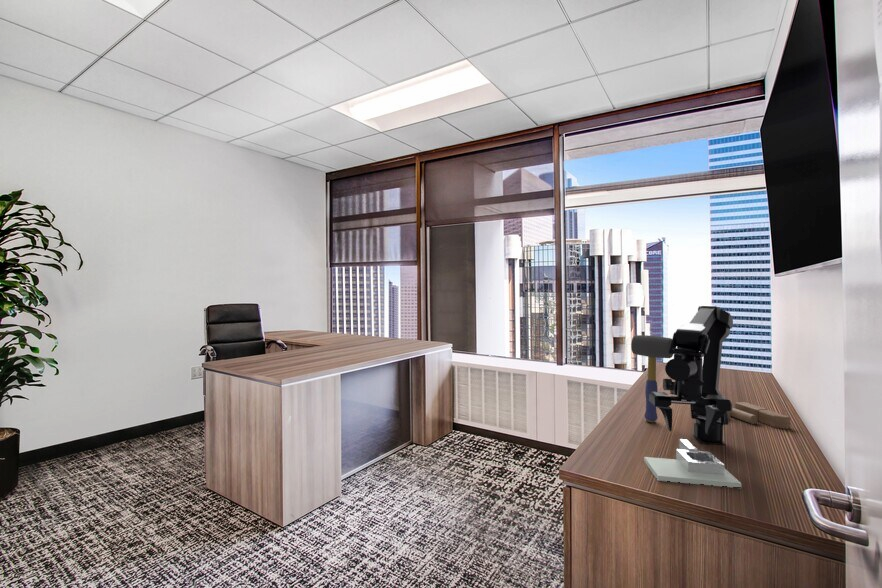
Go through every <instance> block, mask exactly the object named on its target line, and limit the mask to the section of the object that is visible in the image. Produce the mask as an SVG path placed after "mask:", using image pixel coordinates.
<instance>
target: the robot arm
mask: <svg viewBox="0 0 882 588" xmlns="http://www.w3.org/2000/svg"><path fill="white" fill-rule="evenodd" d="M733 320H734V319H733V316H732V315H731V313H730V312H727V311H725V310H723V309H722V308H720V306H717V305H710V304H707V305H705V304H703V305H699V306H698V308H697V312H696V314H695V315H694V316H693V317H692V318H691V320H690V321H689V322H688V324H685V325H684V324H683V325H681V326H679V327H678V328H677V329H676V330H675V331H674V332H673V335H672V338H671V339H672V342H671V346H670V349H669V354H673V358H672V359H671V358H670V359H669V360H668V361H667V362H666V364H665V366H664V371H665V374H666V375H667V376H668V378H663V379H662V389H663V391H658V392H651V393H650V394H649V401H650V402H651V403H652V404H653V405H654V406H656V408H658V409H659V410H660V411H661V412H662V415H663V418H664V420H665V424H666V427H667V430H668V431H669V432H672V430H673V408H672V407H671V405H672V404H680V405H690V416H691V419H692V420H695V422H694V423H693V435H692V437H694V438H695V439H696V440H698V441H699V442H700V443H701V444H711V445H726V442H725V441H724V440H723V438H724V437H723V436H724V431H723V430H724V426H726V425H729V422H730V421H729V420H730V419H729V418H728V413H727V411H732V408H733V403H732V401H731V400H730V399H729V398H727V397H725V396H724V395H722V394H721V391H720V390H719V387H720V386H719V385H720V373H721V364H722V363H721V361H722V353H723V351H722V350H723V343H724V341H725V340H726V339H727V338H728V337H729V336H730V334H731V333H730V332H731V329H732V328H733V325H734V321H733ZM665 391H669V392H670V393H669V394H670V395H669V394H668V393H666V392H665ZM671 395H672V396H671Z"/></svg>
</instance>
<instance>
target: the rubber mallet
mask: <svg viewBox="0 0 882 588" xmlns="http://www.w3.org/2000/svg"><path fill="white" fill-rule="evenodd" d="M631 339H632V340H631V342H630V343H631V344H630V347H631V348H630V350H631V352H632V353H633V355H637V356H643V357H648V358H647V379H646V383H645V392H644V393H645V394H644V395H645V412H644V418H645V421H646V422H649V423H656V421H657V420H658V413H657V407H656V406H654V405H653V404H652V403H651V402H650V401H649V394H650V393H651V392H659V391H658V389H659V388H658V383H657V358H658V359H671V358H673V357H674V354H669V349H670V346H671V342H672V338H671V337H666V336H665V337H664V336H659V335H647V334H646V335H644V334H642V335H641V334H636V335H633V337H632V338H631Z"/></svg>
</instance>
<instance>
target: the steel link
mask: <svg viewBox="0 0 882 588" xmlns="http://www.w3.org/2000/svg"><path fill="white" fill-rule="evenodd" d="M697 452H702V453H703V454H704V455H705V461H701V460H695V454H696V453H697ZM675 459H676V460H678V461H679V462H680V463H681V464H682V466H683V467H684V468H685V469H686V470H687V471H688V472H696V473H707V474H718V475H724V468H725V463H724V462H722V461H721V460H720V459H718V458H717V457H716V456H715V455H714V454H713V453H712V452H711V451H706V450H698V448H697V447H696V446H695V445H693V444H692V442H690V441H689V440H688V439H686V438H684V439H683V438H679V439H678V448H676V450H675Z"/></svg>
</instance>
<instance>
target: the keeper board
mask: <svg viewBox="0 0 882 588" xmlns="http://www.w3.org/2000/svg"><path fill="white" fill-rule="evenodd" d="M695 460H701V461H705V455H704V454H703V453H702V452H697V453H696V454H695ZM643 462H644V464H645V465H646V466H647V467H648V469H649V470H650V472H651V473H652V475H653V476H654V477H655V479H656V478H657V479H656V480H657V481H658V482H659V481H660V482H667V481H670V482H671V483H678V482H680V483H682V484H689V483H690V484H692V485H700V484H704V485H703V486H711V485H713V486H712V487H722V486H727V487H726V488H733V487H741V488H742V482H741V481H739V479H737V478H736V477H735V476H734V475H733V474H732V473H731V472H729V471H728V470H727V469H726V468H725V467H724V475H718V474H707V473H696V472H688V471H687V470H686V469H685V468H684V467H683V466H682V464H681V463H680V462H679V461H678V460H677V459H676V458H675V459H673V458H663V457H662V458H661V457H651V456H644V457H643ZM670 482H669V483H670ZM680 483H679V484H680Z"/></svg>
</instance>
